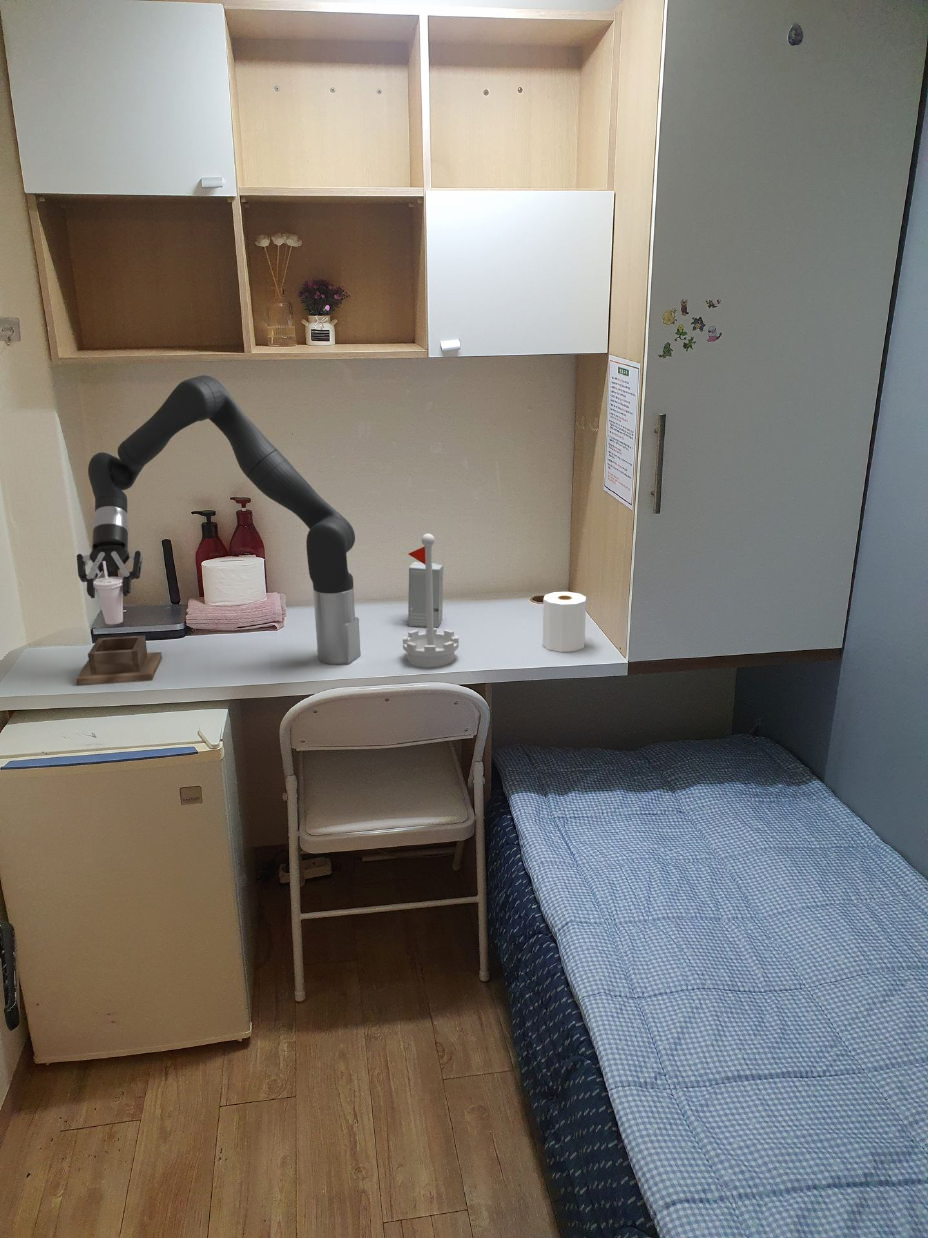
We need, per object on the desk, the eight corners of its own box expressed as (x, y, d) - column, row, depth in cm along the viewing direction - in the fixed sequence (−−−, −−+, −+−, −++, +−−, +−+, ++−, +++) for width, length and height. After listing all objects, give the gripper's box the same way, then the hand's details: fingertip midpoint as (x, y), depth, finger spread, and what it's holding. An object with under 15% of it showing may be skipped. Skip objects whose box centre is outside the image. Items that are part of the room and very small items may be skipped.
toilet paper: (587, 652, 215) (589, 603, 212) (544, 652, 215) (545, 604, 211) (582, 637, 225) (583, 590, 221) (540, 638, 225) (541, 591, 221)
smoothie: (119, 615, 208) (110, 556, 203) (135, 620, 204) (126, 560, 199) (93, 622, 203) (83, 562, 199) (108, 628, 199) (99, 567, 195)
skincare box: (408, 627, 234) (406, 567, 229) (413, 618, 241) (411, 560, 236) (440, 628, 233) (439, 568, 228) (444, 619, 239) (443, 561, 234)
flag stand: (467, 652, 216) (465, 529, 206) (445, 671, 205) (443, 542, 195) (417, 646, 221) (414, 525, 211) (393, 664, 209) (388, 538, 200)
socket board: (161, 657, 215) (158, 632, 213) (152, 680, 202) (148, 653, 200) (91, 662, 213) (87, 636, 210) (76, 685, 199) (72, 657, 197)
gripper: (73, 523, 202) (69, 589, 195) (140, 520, 205) (139, 585, 198) (81, 541, 209) (78, 605, 202) (146, 537, 211) (145, 601, 204)
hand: (108, 595), depth 200 cm, fingers closed on smoothie, 6 cm apart
